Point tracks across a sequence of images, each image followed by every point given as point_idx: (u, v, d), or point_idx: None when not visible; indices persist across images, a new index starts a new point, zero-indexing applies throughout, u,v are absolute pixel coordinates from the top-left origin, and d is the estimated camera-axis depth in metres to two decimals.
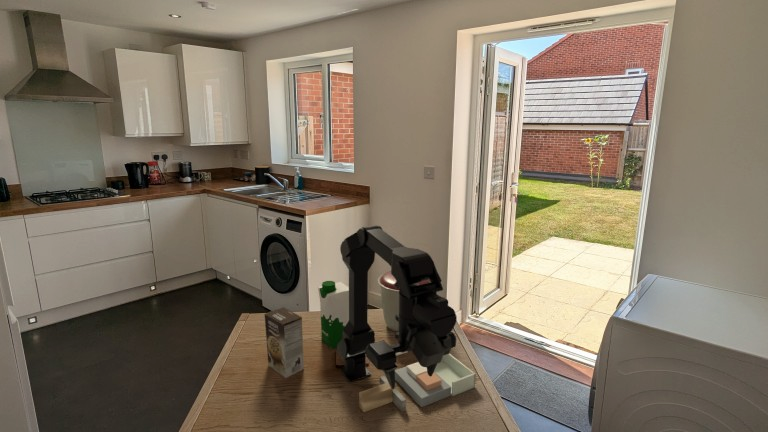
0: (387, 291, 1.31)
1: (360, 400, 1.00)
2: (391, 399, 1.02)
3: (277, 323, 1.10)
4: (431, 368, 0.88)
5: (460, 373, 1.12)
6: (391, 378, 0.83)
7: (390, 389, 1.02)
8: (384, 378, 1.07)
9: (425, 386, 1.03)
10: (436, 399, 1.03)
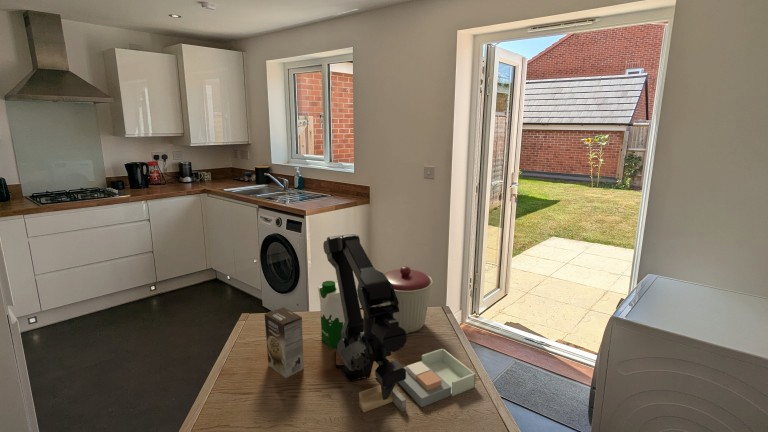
0: None
1: (360, 400, 1.00)
2: (391, 399, 1.02)
3: (277, 323, 1.10)
4: None
5: (460, 373, 1.12)
6: None
7: None
8: None
9: (425, 386, 1.03)
10: (436, 399, 1.03)
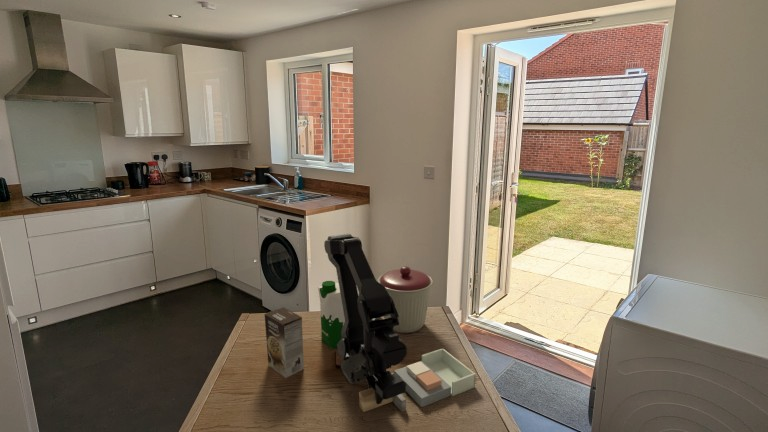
0: None
1: (360, 400, 1.00)
2: (391, 399, 1.02)
3: (277, 323, 1.10)
4: None
5: (460, 373, 1.12)
6: (367, 384, 1.02)
7: None
8: None
9: (425, 386, 1.03)
10: (436, 399, 1.03)
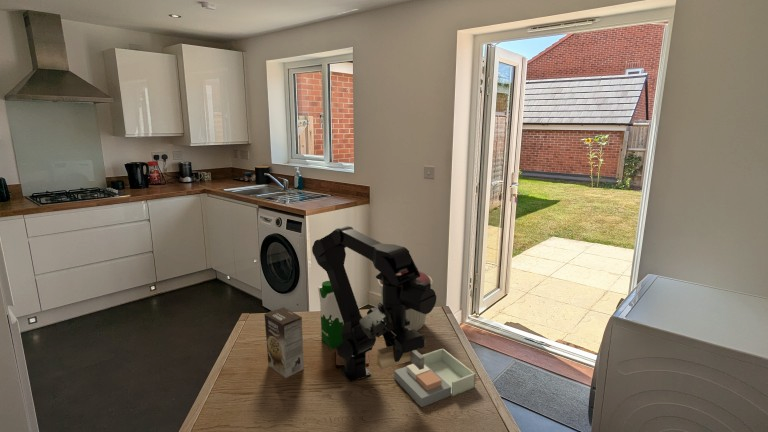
0: None
1: (378, 357, 1.00)
2: (409, 358, 1.02)
3: (277, 323, 1.10)
4: None
5: (460, 373, 1.12)
6: None
7: None
8: None
9: (425, 386, 1.03)
10: (436, 399, 1.03)
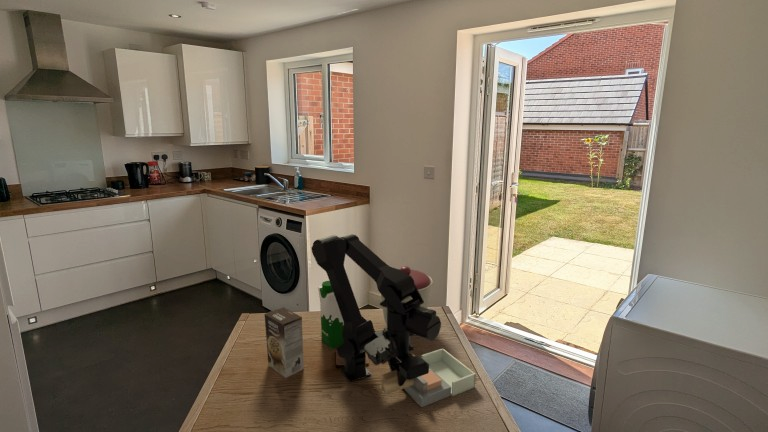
0: None
1: (382, 382, 1.02)
2: (412, 382, 1.05)
3: (277, 323, 1.10)
4: None
5: (460, 373, 1.12)
6: None
7: None
8: None
9: None
10: (436, 399, 1.03)
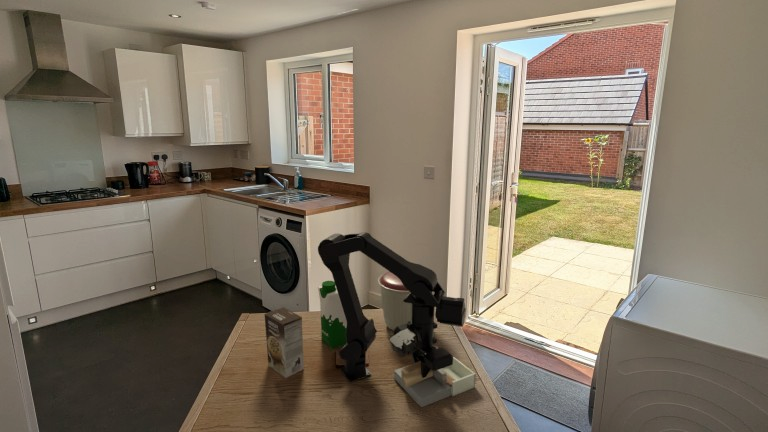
0: (387, 291, 1.31)
1: (402, 376, 1.05)
2: (431, 373, 1.07)
3: (277, 323, 1.10)
4: None
5: (460, 373, 1.12)
6: None
7: None
8: None
9: None
10: (436, 399, 1.03)
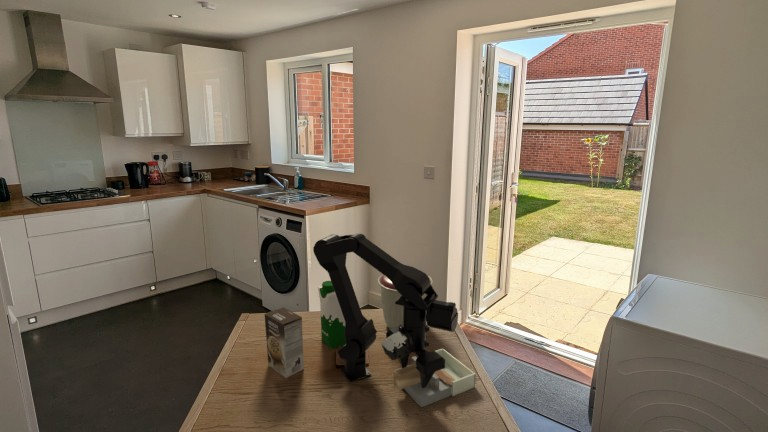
0: (387, 291, 1.31)
1: (395, 378, 1.04)
2: None
3: (277, 323, 1.10)
4: None
5: (460, 373, 1.12)
6: None
7: None
8: (416, 358, 1.11)
9: (445, 378, 1.06)
10: (436, 399, 1.03)
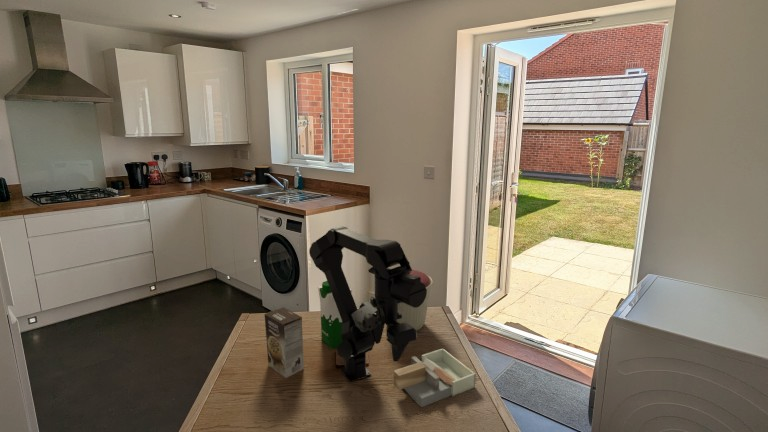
0: None
1: (395, 378, 1.04)
2: (424, 378, 1.06)
3: (277, 323, 1.10)
4: None
5: (460, 373, 1.12)
6: (372, 331, 1.06)
7: (423, 368, 1.06)
8: (416, 358, 1.11)
9: (445, 378, 1.06)
10: (436, 399, 1.03)
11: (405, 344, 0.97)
